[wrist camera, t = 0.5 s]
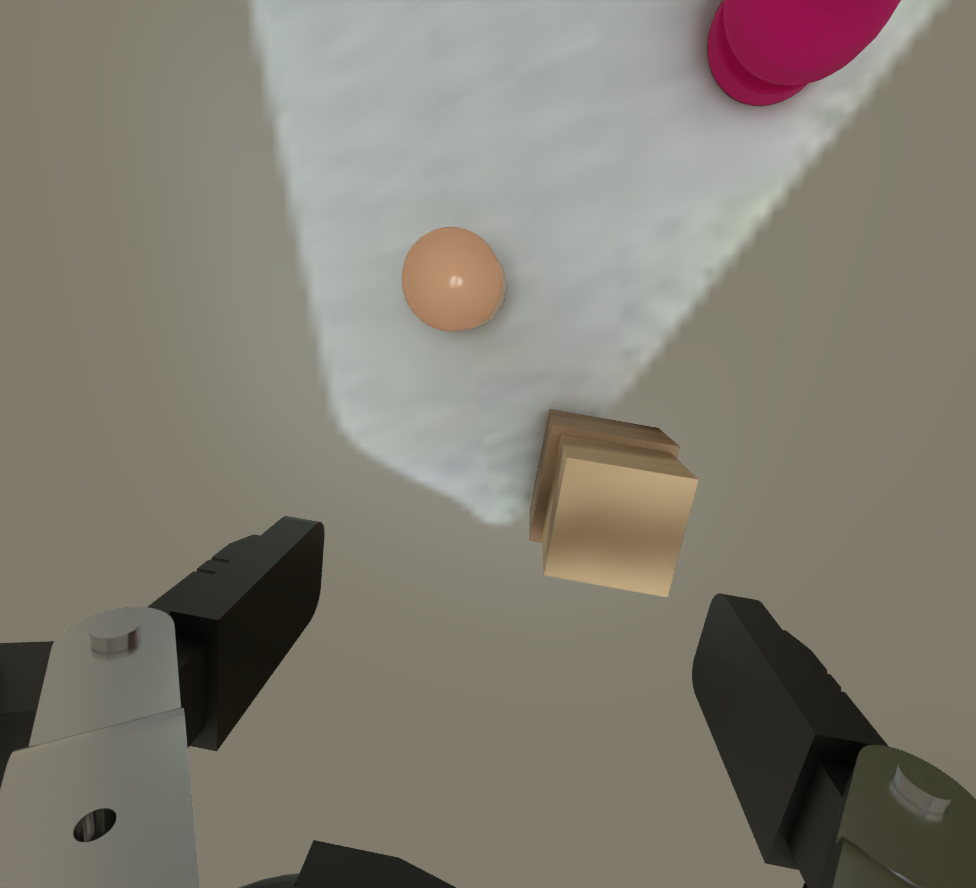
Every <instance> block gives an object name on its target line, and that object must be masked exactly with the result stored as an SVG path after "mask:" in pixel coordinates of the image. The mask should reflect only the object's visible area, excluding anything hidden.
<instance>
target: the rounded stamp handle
mask: <svg viewBox="0 0 976 888" xmlns="http://www.w3.org/2000/svg"><path fill="white" fill-rule="evenodd" d="M402 287H403V292H404V295H405V298H406V301H407V303H408V305H409V306H410V308H411V310H412V311H413V312H414V314H415V315H416V316H417V317H418V318H419V319H420V320H422V321H423V322H424V323H426V324H427V325H429V326H431V327H433V328H436V329H439V330H443V331H460V330H467V329H473V328H477V327H480V326H483V325H485V324H486V323H488V322H489V321H491V320H492V319H493V318H494V317H495V316H496V315H497V313H498V312H499V311H500V309H501V307H502V305H503V303H504V300H505V296H506V278H505V274H504V271H503V269H502V267H501V265H500V263H499V262H498V260H497V258H496V256H495V255H494V253H493V251H492V250H491V248H490V247H489V246H488V244H487V243H486V242H485V241H484V240H483V239H481V238H480V237H479V236H478V235H476V234H474V233H472V232H470V231H468V230H465V229H461V228H456V227H445V228H440V229H436V230H433V231H431V232H429V233H427V234H426V235H424V236H423V237H421V238H420V239H419V240H418V241H417V242H416V243H415V244H414V245H413V247H412V248H411V249H410V251H409V253H408V255H407V257H406V259H405V262H404V265H403V271H402Z"/></svg>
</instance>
